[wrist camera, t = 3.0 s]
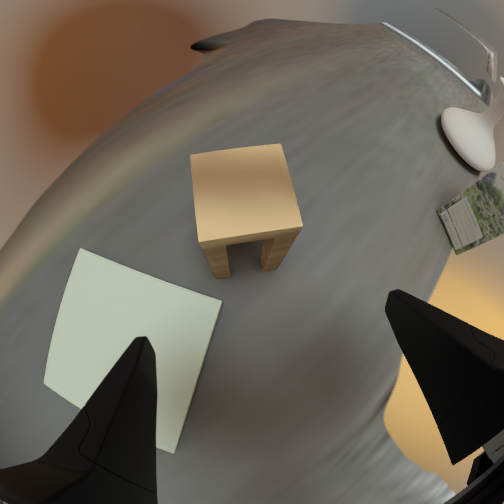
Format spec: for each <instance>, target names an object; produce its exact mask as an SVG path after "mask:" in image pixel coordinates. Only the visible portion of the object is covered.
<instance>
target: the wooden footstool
mask: <svg viewBox="0 0 504 504" xmlns="http://www.w3.org/2000/svg"><path fill="white" fill-rule="evenodd" d="M190 158H191V171H192V183H193V194H194V204H195V214H196V223H197V232H198V241H199V244H200V246H201V248H202V250H203V252H204V254H205V256H206V259H207V261H208V263H209V265H210V267H211V269H212V271H213V273H214V275H215V277H216V279H220V278H226V277H231V274H230V268H229V262H228V256H227V250H226V245H232V244H238V243H245V242H251V241H258V240H265V241H264V244H263V248H262V251H261V255H260V262H261V268H262V272H264V271H270V270H276V269H277V268H278V266H279V265H280V263H281V261H282V260H283V258H284V257H285V255H286V253H287V252H288V250H289V248H290V247H291V245H292V244H293V242H294V240H295V239H296V237H297V235H298V234H299V232H300V231H301V229H302V227H303V224H302V220H301V216H300V212H299V208H298V204H297V200H296V197H295V193H294V189H293V185H292V182H291V178H290V174H289V171H288V167H287V164H286V160H285V156H284V153H283V150H282V146H281V144H273V145H262V146H252V147H243V148H235V149H227V150H220V151H213V152H206V153H200V154H194V155H190Z"/></svg>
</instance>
